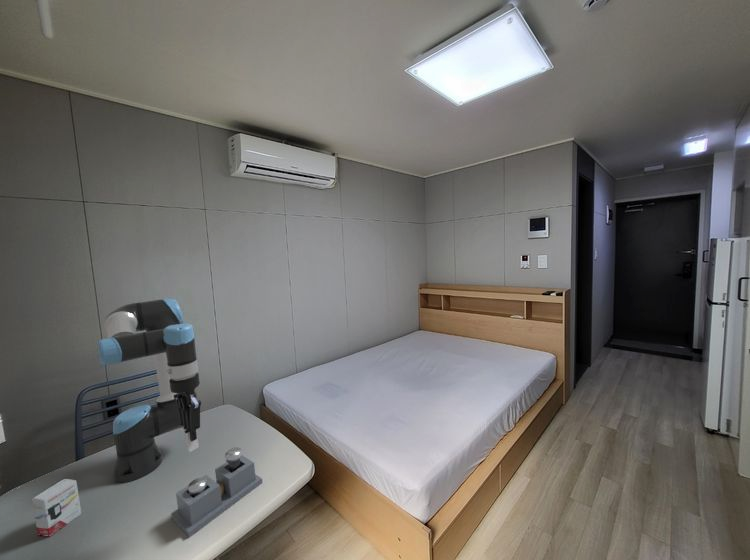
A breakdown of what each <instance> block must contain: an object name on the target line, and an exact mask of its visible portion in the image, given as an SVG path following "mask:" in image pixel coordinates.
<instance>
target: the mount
mask: <svg viewBox="0 0 750 560" xmlns="http://www.w3.org/2000/svg"><path fill="white" fill-rule="evenodd" d="M240 465H241V467H240V468H239V469H237V470H236V471H234V472H233V473H231V472H229V464H228V462H226V461H225V462H224V463H222V464H221V465H220V466H218V467H216V468H215V469H214V472H215V473H214V474H215V479H216V481H215V480H214V479H212V478H211V477H210V476H208V474H205V475H203V476H202V477H204V478H206V480H207V488H206V490H205V491H204V492H202V493H201V494H199V495H198V496H196V497H194V498H193V497H192V496H191V495H189V490H188V485H187V486H185V487H184V488H182V489H181V490H179V491H177V492H176V493H175V496H176V504H177V509H176V510H173V512H171V513H170V516H171V519H172V520H173V521H174V523H175V524H176V525H177V526H178V527H179V528H180V529H181V531H183V532H184V534H185V535H187V537H188V538H191V537H193V535H195V534H196V533H198V532H199V531H201V530H202V529H204V528H205V526H207V525H208V524H210V523H211V522H212V521H213V520H215V519H216V518H217V517H219V516H220V515H222V514H223V513H224V512H225V511H227V510H229V508H231V507H232V506H233V505H235V504H236V503H237V502H239V501H241V499H243V498H244V497H246V496H247V495H248V494H250V493H251V492H252V491H253V490H255V489H256V488H258V487H259V486H260V485H262V484H263V478H262V477H260V476H259V475H258V474H256V469H255V462H254V461H253V460H251V459H249V458H247V457H246V456H244V455H242V456H241V458H240Z"/></svg>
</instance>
